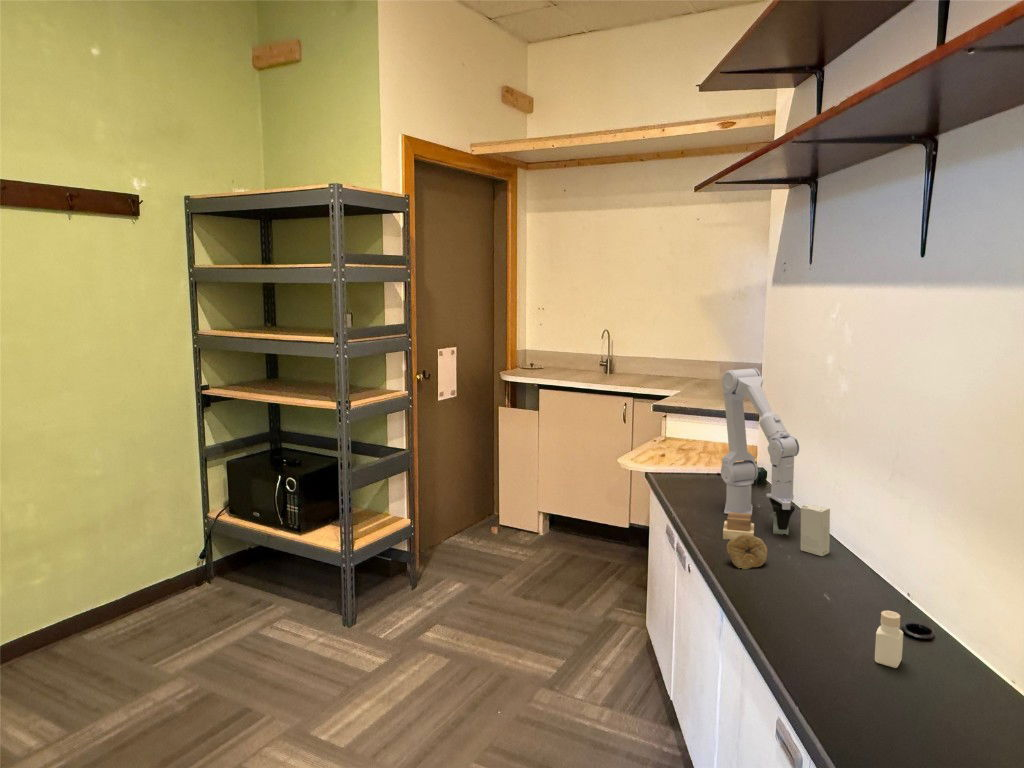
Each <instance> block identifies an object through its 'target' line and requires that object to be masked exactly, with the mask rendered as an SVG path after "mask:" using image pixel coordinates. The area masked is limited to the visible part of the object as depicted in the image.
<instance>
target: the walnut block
mask: <svg viewBox="0 0 1024 768" xmlns="http://www.w3.org/2000/svg"><path fill="white" fill-rule="evenodd" d="M726 519H727V520H726V521H727V529H731V530H742V531H750V527H751V523H752V516H751V514H746V513H734V512H729V513H728V514H727V518H726Z"/></svg>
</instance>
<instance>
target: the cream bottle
mask: <svg viewBox="0 0 1024 768" xmlns="http://www.w3.org/2000/svg"><path fill="white" fill-rule="evenodd" d="M880 614H881V615H880V625H879V626H878V628H877V630H876V632H875V646H874V648H875V649H874V661H875V662H876V664H880V665H883V666H887V667H890V668H893V669H897V668H898V667H899V666H900V664H901V661H902V659H903V646H904V632H903V630H901V629H900V626H901V614H899V612H896V611H892V610H882V611H881V612H880Z"/></svg>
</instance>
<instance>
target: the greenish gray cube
mask: <svg viewBox="0 0 1024 768" xmlns="http://www.w3.org/2000/svg"><path fill="white" fill-rule="evenodd" d="M772 519H773V524H772V527H773V528H772V532H773V534H774V535H783V534H786V536H789V534H790V533H789V531H790V530H789V529H790V528H789V527H790V522H789V523H788V527H787V530H779V529H778V524H777V517H776V512H773V518H772Z"/></svg>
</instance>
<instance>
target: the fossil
mask: <svg viewBox="0 0 1024 768" xmlns="http://www.w3.org/2000/svg"><path fill="white" fill-rule="evenodd" d="M726 553H727V554H728V556H729V558H730V560H731V562H732V564H733V565H734V566H735V567H737V568H738V569H740V568H742V569H741V570H749V569H751V568H758V567H759V568H760V567H762V565H764V563H765V562H766V561H767V557H768V547H767V545H766V543H764V540H763V539H761V538H760V537H758V536H755V535H754V536H752V535H745V534H744V535H740V536H738V537H737V538H735V539H733V540H729V541H728V542H727V544H726Z"/></svg>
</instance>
